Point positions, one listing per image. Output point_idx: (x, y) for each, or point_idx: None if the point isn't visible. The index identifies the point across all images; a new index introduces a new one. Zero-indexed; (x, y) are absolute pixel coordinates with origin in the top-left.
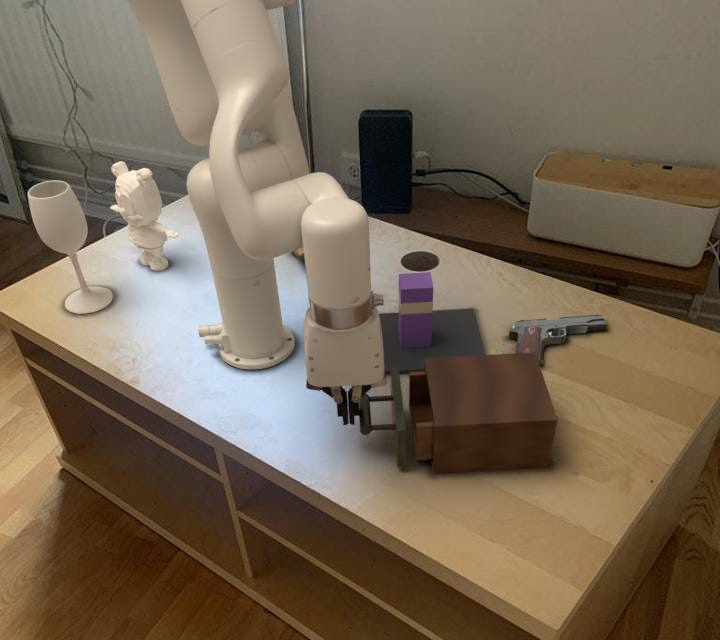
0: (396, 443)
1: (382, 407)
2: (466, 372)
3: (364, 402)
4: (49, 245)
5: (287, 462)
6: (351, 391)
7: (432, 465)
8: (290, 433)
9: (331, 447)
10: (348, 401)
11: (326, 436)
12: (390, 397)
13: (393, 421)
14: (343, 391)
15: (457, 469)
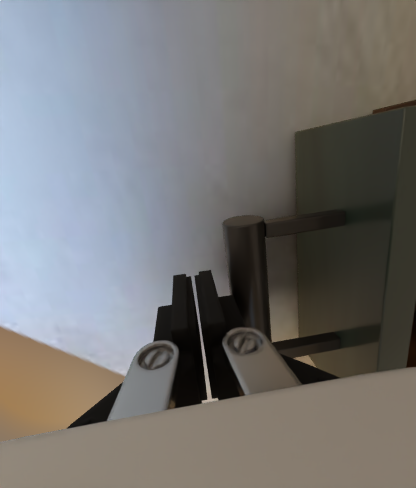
0: (328, 370)
1: (264, 124)
2: None
3: (252, 277)
4: None
5: (60, 333)
6: (230, 394)
7: None
8: (31, 245)
9: (149, 281)
10: (212, 388)
11: (129, 247)
12: (339, 224)
13: (313, 252)
14: (189, 389)
15: None
